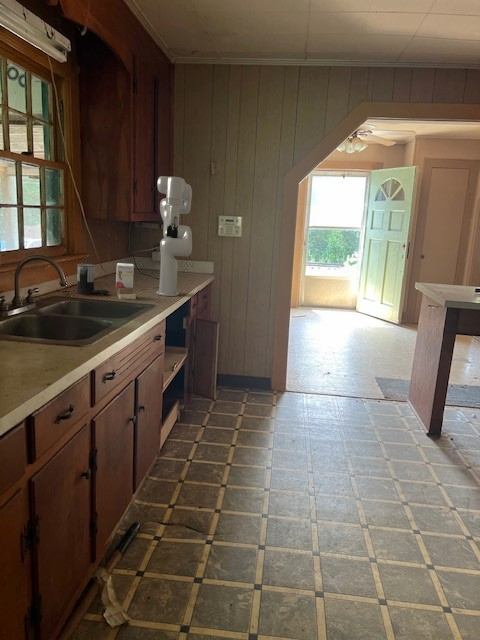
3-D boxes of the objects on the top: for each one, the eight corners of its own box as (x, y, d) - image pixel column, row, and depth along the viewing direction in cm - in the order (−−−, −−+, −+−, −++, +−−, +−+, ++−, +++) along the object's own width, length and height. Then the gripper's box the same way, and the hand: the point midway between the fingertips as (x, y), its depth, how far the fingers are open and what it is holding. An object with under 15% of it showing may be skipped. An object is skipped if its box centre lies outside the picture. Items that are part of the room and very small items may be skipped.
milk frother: (75, 290, 257) (76, 263, 254) (105, 291, 264) (106, 264, 261) (78, 295, 245) (78, 266, 242) (109, 296, 251) (110, 268, 248)
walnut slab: (115, 291, 252) (115, 285, 252) (128, 291, 256) (129, 285, 255) (119, 294, 246) (119, 288, 246) (132, 294, 250) (133, 288, 249)
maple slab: (117, 296, 254) (117, 291, 254) (132, 297, 257) (132, 291, 257) (120, 299, 247) (120, 294, 246) (135, 300, 250) (135, 294, 250)
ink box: (115, 287, 247) (116, 264, 244) (115, 285, 252) (116, 262, 248) (133, 288, 250) (134, 265, 246) (132, 286, 254) (133, 263, 251)
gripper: (162, 201, 245) (160, 235, 249) (170, 202, 230) (168, 238, 234) (176, 203, 248) (174, 236, 252) (185, 203, 233) (183, 239, 236)
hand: (171, 237), depth 243 cm, fingers open, 9 cm apart
